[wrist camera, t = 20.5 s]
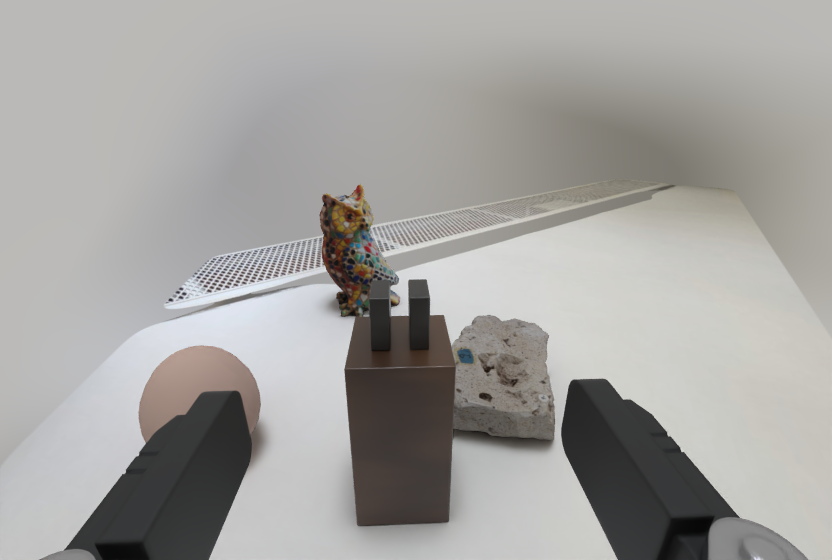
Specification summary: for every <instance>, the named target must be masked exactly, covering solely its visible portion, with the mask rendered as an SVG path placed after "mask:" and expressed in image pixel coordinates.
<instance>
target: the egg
mask: <svg viewBox="0 0 832 560" xmlns="http://www.w3.org/2000/svg"><path fill="white" fill-rule="evenodd" d="M234 390H236V391H238V392H239V393H240V394H241V397H242V401H243V405H244V410H245V414H246V419H247V423H248V427H249V432H250V435H251V433H252V432H253V430H254V429H255V426H256V424H257V421H258V418H259V412H260V406H261V403H260V393H259V390H258V386H257V383H256V380H255V378H254V377H253V375H252V373H251V372H250V370H249V368H247V367H246V366H245V365H244V364H243V363H242V362H241V361H240V360H239V359H238V358H237V357H236V356H234V355H233V354H231V353H229V352H227V351H225V350H223V349H221V348H217V347H213V346H193V347H188V348H185V349H183V350H180V351H177V352H176V353H174V354H172V355H170V356H169V357H168V358H167V359H165V360H164V361H163V362H162V363H161V364H160V365H159V366H158V367H157V368H156V369H155V370H154V372H153V373H152V375H151V377H150V379H149V380H148V382H147V384H146V386H145V388H144V391H143V395H142V398H141V401H140V406H139V423H140V428H141V433H142V436H143V438H144V440H145V442H146V443H147V442H148V441H149V439H150V438H151V437H152V435H153V434H154V433H155V432H156V431H157V430H158V429H160V428H161V427H162V426H164V425H165V424H166V423H167V422H169V421H170V420H171V419H173V418H174V417H175V416H176V415H185V414H186V413H187V412H188V410H189V409H190V407H191V406H192V405H193V403H194V402H195V400H196V399H197V398H198V396H199V395H200V394H201V393H202V392H206V391H234Z"/></svg>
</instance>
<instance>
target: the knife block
mask: <svg viewBox="0 0 832 560" xmlns="http://www.w3.org/2000/svg"><path fill="white" fill-rule="evenodd" d="M408 286H409V316H391V298H390V280H372V282H371V288H370V295H369V315H370V317H356V318H355V322H354V327H353V331H352V336H351V341H350V346H349V350H348V355H347V360H346V365H345V369H344V370H345V382H346V395H347V407H348V419H349V431H350V443H351V455H352V467H353V479H354V491H355V504H356V516H357V525H382V524H406V523H430V522H448V521H449V503H450V482H451V461H452V441H453V420H454V399H455V378H456V365H455V360H454V356H453V352H452V348H451V343H450V339H449V335H448V331H447V326H446V322H445V318H444V315H430V296H429V290H428V285H427V280H409V281H408Z"/></svg>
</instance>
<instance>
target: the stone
mask: <svg viewBox="0 0 832 560" xmlns="http://www.w3.org/2000/svg"><path fill="white" fill-rule="evenodd" d="M548 338H549V335H548V334H547V333H546V332H544V331H543V330H542V329H541V328H540V327H539V326H537V325H536V324H535V323H528V322H525V321H521V320H518V319H512V320H507V321H503V322H502V321H501V320H499V318H497V317H496V316H491V315H487V316H477V317H476V318H475V319H474V320H473V321H472V325H471V326H467V327H465V328H464V329H463V330H462V331H461V335H460V336H459V339H456V340H455V341H454V343H453V345H452V347H451V348H452V352H453V356H454V360H455V365H456V378H455V399H454V420H453V429H456V428H457V429H458V430H464V431H469V430H473V431H482V432H487V433H488V434H490V435H491V436H502V437H507V436H511V437H519V438H531V437H534V438H537V439H540V440H542V439H547V440H554V432H555V426H554V425H555V411H554V403H553V401H554V398H553V394H552V390H551V386H550V381H549V376H548V374H547V366H546V363H545V362H546V360H547V341H548Z"/></svg>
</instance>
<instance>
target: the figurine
mask: <svg viewBox="0 0 832 560" xmlns="http://www.w3.org/2000/svg"><path fill="white" fill-rule="evenodd" d="M322 199H323V202H324V205H323V207H322V210H321V212H320V223H321V229H322V231H323V234H324V237H323V246H322V258H323V262H324V264H325V266H326V270H327V271H328V273H329V275H330V276H331V278H332V279H333V280H334V282H335V283H336V284H337V285H338V286H339V287H340V288H341V289H342V290H343V292H338V293H337V297H336V298H337V299H339V304H340V307H339V308H340V309H341V310H342V311H341V316H346V315H355V316H357V317H361V316H362V315H363V311H365V310H369V295H370V288H371V282H372V280H390V287H391V286H392V285H397V284H398V282H399V278H398V276H397V275H396V274H395V272H394V271H393V270H392V269H391V268H390V266H389V265H388V264H387V262H386V261H385V259H384V257H383V255H382V254H381V252H380V251H379V248H378V246H377V244H376V243H375V242H374V240H373V238H372V237H371V235H370V234H369V230H370V227H371V225H372V222H373V215H372V211H371V208H370V206H369V204H368V203H367V201H365V199H364V189H363V186H362V185H361V184H360V185H358V186H357V189H356V190H355V191H354V192H353V193H352V195H350V196H346V195H343V196H342V195H339V196H337V197H332V196H331V195H330V194H327V193H326V194H324V195H323V197H322ZM390 298H391V305H397V304H398V303H399V301H400V297H399V296H398V295H397V294H396V293H395V292H393V291H391V290H390Z"/></svg>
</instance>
